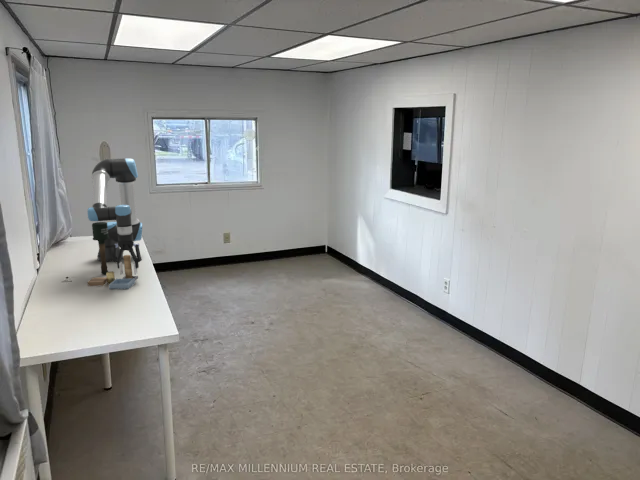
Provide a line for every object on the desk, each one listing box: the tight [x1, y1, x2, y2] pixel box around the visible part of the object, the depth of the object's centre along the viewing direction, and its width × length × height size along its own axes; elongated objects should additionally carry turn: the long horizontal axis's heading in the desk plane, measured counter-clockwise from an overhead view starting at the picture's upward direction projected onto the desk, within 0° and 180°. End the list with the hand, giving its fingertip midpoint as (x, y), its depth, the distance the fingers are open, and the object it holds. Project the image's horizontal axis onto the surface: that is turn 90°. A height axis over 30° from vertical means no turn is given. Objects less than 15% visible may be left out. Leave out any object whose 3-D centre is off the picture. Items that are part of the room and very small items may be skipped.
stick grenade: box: [91, 221, 109, 276], centre depth 271 cm, size 8×9×30 cm
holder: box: [121, 275, 139, 281], centre depth 265 cm, size 7×7×1 cm
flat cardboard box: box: [87, 276, 107, 287], centre depth 259 cm, size 8×8×2 cm
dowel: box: [123, 254, 134, 279], centre depth 263 cm, size 4×4×14 cm
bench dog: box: [105, 270, 116, 285], centre depth 259 cm, size 4×4×6 cm
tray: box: [108, 278, 136, 290], centre depth 255 cm, size 10×10×2 cm
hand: (128, 273), depth 264 cm, fingers open, 7 cm apart
